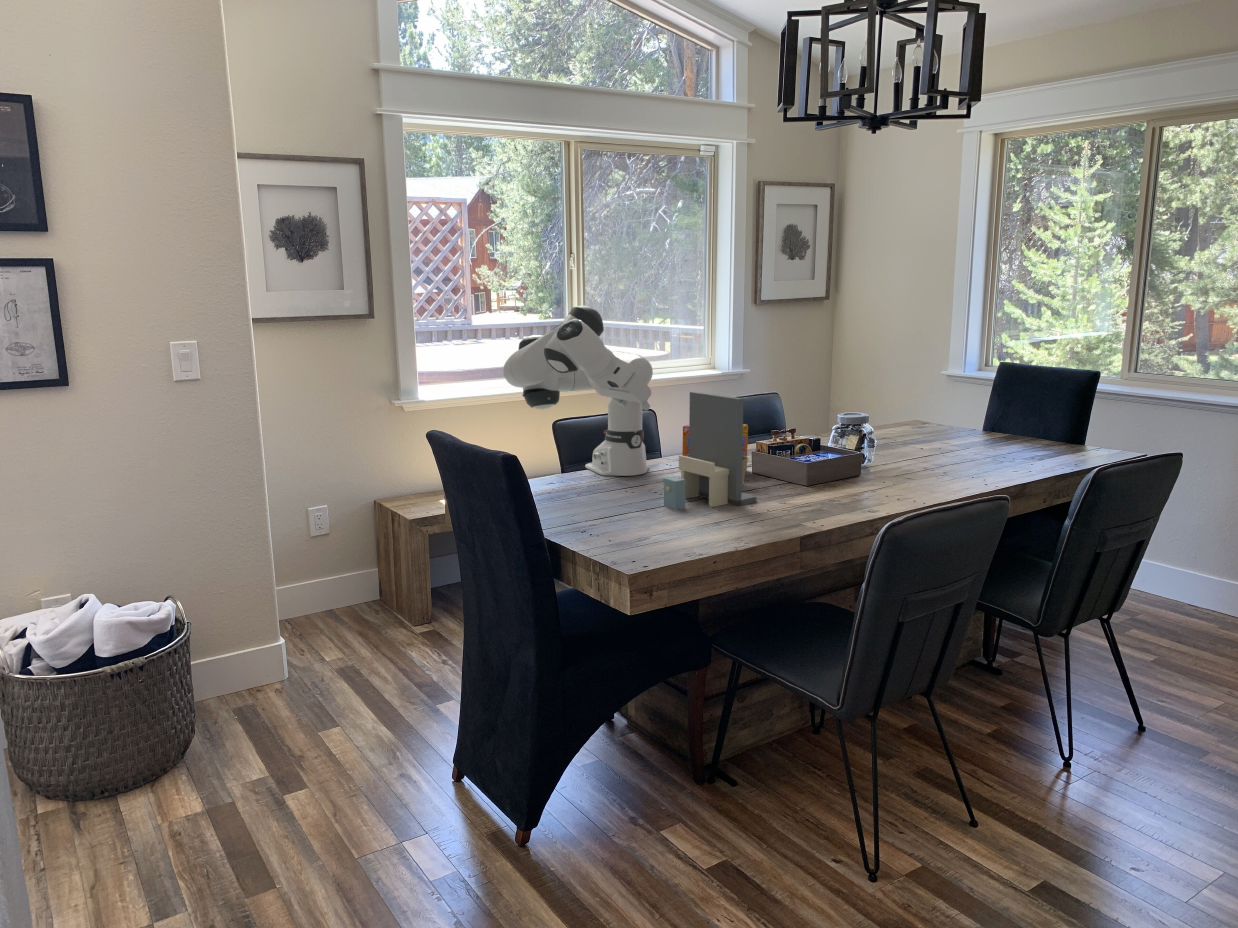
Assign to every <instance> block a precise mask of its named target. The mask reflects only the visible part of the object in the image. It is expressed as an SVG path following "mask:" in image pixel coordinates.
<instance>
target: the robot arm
mask: <svg viewBox="0 0 1238 928" xmlns="http://www.w3.org/2000/svg"><path fill="white" fill-rule="evenodd" d="M604 331H605V330H604V322H603V318H602V315H601V314H600V313H599V312H598V311H597V310H596V309H595V308H593V307H592V306H589V305H576V306H573V307H572V308H571V309H570V310H569V312H568V315H567V316H566V317H565V319H563V321H562V322H561V323H559V324H558V325H556V326H555V327H554V328H552V329H551V330H550V331H548V332H547V333H545V334H543V335H540V334H534V335H529V336H527V337H526V338H523V339H522V340H520V341H519V343H518V350H516V351H515V352H513V353H512V354H511V355H510V356H509V357H508V358H507V360H506V361H505V363H504V365H503V369H502V370H503V376H504V379H505V380H506V381H507V383H508V384H509V385H511V386H513V387H514V388H522V397H523V398H524V400H525V402H526V404H527V405H528V406H529V407H530V408H532V409H536V410H547V409H550V408H552V407H553V406H556V405H557V404H559V402H560V396H561V395H560V393H565V392H566V393H567V392H579V391H580V392H581V391H592V390H594V391H595V392H596V393H597V394H598V395H600V396H601V397H605V398H606V397H607V398H611V400H610V402H609V403H608V405H607V406H608V407H607V408H608V409H607V413H608V414H607V415H608V416H607V420H608V421H607V425H608V426H607V429H605V430H603V435H604V434H605V436H604V440H603V441H602V442H601V443H600V444H599V445H598V446H596V447H595V448H594V449H593V452H592V457H591V458H592V459H591V460H592V462H588V463H586V464H585V468H586V469H587V470H590V471H592V472H594V473H597V474H598V475H601V476H623V477H624V476H625V477H626V476H629V477H630V476H638V475H643V474H646V473H647V472H648V470H649V469H650V465H649V464H647V463H648V462H647V453H646V445H645V443H644V442H643V441H644V435H645V432H644V429H643V411H649V409H650V408H651V404H650V403H649V402H648V400H649V399H650V397H651V395H652V390H651V388H650V386H649V385H648V384H649V383H650V382H651V381H652V378H653V374H654V373H653V370H654V369H653V366H652V364H651V362H650V361H648V360H647V358H646V357H644V356H642V355H640V354H637V353H631V352H626V351H622V350H621V351H619V350H615V351H612V350H610V349H609V348H607V347H606V346H605V344H604V341H603V340H602V339H601V337H600V336H601V335H602V334H603V332H604Z"/></svg>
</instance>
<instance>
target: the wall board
mask: <svg viewBox="0 0 1238 928" xmlns="http://www.w3.org/2000/svg"><path fill="white" fill-rule="evenodd" d="M744 400H745V399H744V398H742V397H737V396H736V397H735V396H729V395H721V394H714V393H709V392H708V393H707V392H700V391H689V420H688V421H689V424H688V425H689V457H687V456H682V454H681V455H680V454H679V455H678V470H679V471H680V478H681V479H684V480H685V500H686V499H689V498H696V497H702V498H705V499H708V507H709V508H710V507H711V508H713V507H719V506H723V505H730V506H733V507H739V506H742V505H743V504H744V505H749V504H752V503H757V499H758V497H757V496H755V495H751V494H748V493H743V491H742V488H743V486H742V446H743V424H744ZM748 503H749V504H748Z"/></svg>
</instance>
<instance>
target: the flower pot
mask: <svg viewBox="0 0 1238 928" xmlns="http://www.w3.org/2000/svg"><path fill="white" fill-rule="evenodd" d="M749 460H750V458H749V456H747V457H746V456H742V487H744V484H745V476H746V472H747V471H746V465H747V466H748V461H749Z"/></svg>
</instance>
